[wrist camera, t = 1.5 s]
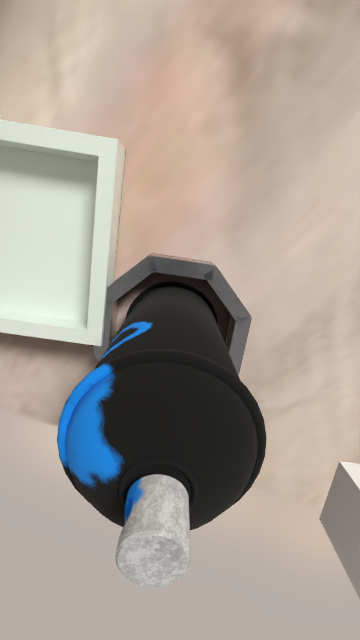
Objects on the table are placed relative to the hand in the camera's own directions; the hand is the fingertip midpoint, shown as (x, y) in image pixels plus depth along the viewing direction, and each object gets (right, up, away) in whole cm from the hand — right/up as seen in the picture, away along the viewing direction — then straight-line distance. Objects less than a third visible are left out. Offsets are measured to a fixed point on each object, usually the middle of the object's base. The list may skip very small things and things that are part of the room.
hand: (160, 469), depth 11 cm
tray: (-12, +12, +14) cm, 22 cm away
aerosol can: (0, +5, +16) cm, 17 cm away
